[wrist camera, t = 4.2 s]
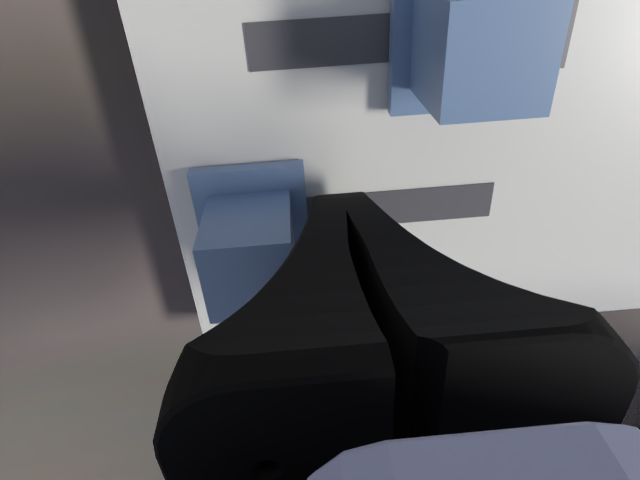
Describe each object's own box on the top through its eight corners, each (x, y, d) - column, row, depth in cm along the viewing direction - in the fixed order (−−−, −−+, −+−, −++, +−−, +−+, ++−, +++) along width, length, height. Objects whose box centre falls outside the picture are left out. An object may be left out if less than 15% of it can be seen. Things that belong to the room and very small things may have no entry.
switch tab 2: (504, 102, 11) (563, 146, 9) (387, 111, 11) (415, 158, 9) (530, -57, 9) (611, -54, 7) (391, -48, 9) (428, -42, 7)
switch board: (666, 275, 17) (699, 304, 15) (211, 313, 16) (205, 347, 15) (954, -389, 8) (1077, -448, 7) (55, -347, 8) (11, -403, 7)
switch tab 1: (311, 264, 13) (317, 334, 11) (212, 272, 13) (197, 344, 11) (302, 159, 12) (308, 215, 9) (188, 168, 12) (166, 227, 9)
